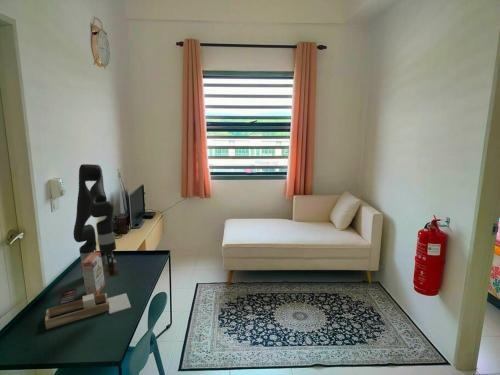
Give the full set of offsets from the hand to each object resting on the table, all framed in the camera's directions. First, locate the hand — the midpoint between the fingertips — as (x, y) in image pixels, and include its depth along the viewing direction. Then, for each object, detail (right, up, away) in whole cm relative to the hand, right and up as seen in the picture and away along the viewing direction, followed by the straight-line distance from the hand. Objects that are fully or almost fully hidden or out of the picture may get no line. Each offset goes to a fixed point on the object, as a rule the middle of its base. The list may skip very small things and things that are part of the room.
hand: (111, 273), depth 157 cm
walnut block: (0, -1, 0) cm, 1 cm away
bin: (-15, -19, -3) cm, 24 cm away
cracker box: (-16, -16, +18) cm, 29 cm away
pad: (+2, -17, +4) cm, 18 cm away
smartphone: (-30, -18, +14) cm, 37 cm away
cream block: (-10, -19, -1) cm, 21 cm away
